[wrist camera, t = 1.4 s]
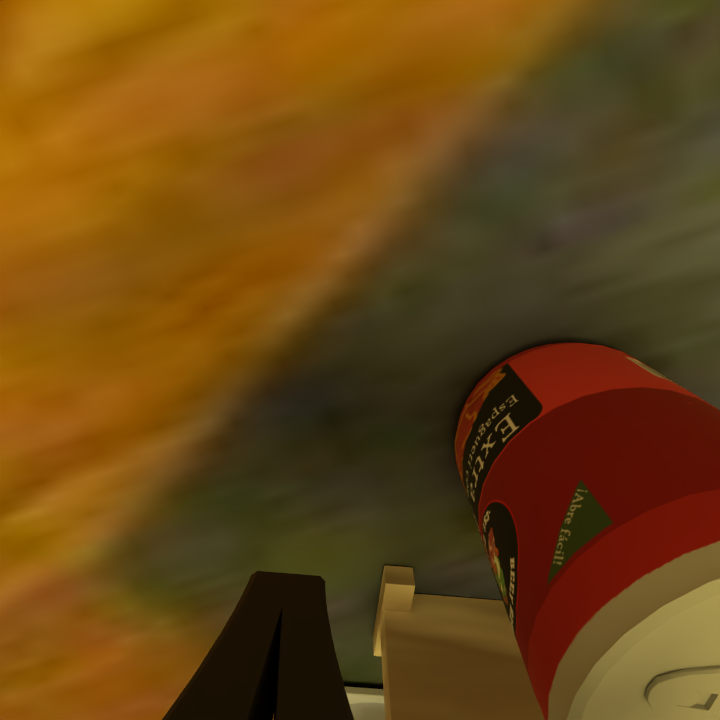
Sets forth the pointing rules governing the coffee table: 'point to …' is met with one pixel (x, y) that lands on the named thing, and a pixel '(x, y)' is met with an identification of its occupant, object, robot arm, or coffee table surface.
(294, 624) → the robot arm
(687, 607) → the canned food
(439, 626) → the light wooden block
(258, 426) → the coffee table surface
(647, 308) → the coffee table surface
